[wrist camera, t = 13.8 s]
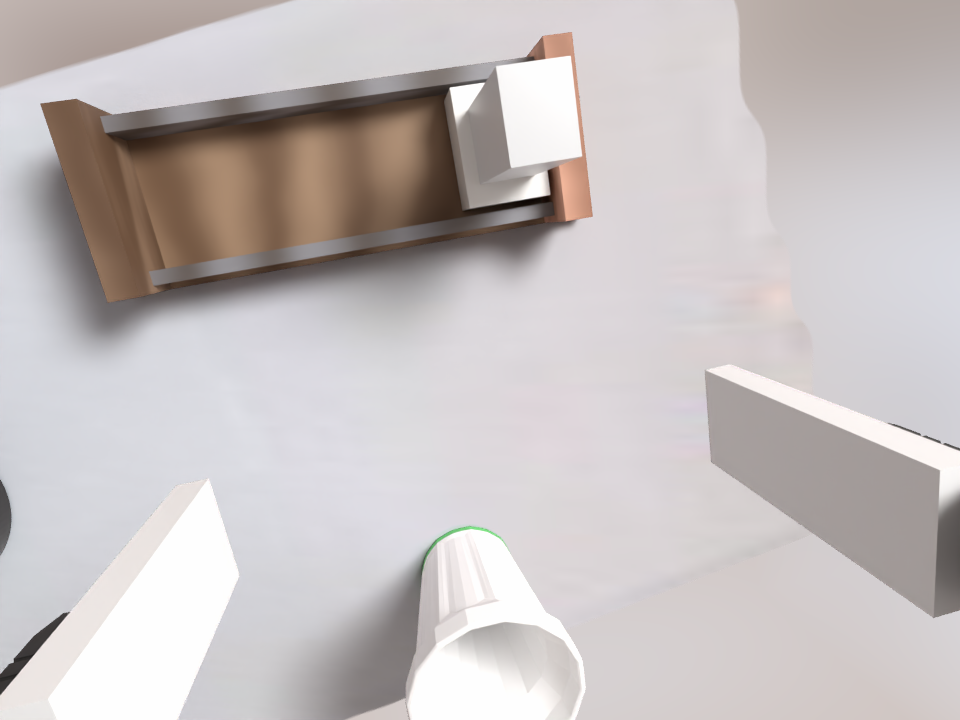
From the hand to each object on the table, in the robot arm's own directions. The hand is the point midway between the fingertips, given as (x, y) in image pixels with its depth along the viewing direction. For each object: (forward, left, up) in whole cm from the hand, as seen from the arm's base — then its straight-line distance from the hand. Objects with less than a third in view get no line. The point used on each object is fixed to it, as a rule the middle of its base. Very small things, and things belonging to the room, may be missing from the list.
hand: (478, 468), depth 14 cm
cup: (0, -25, -33) cm, 41 cm away
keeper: (+8, +11, -31) cm, 34 cm away
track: (-3, +11, -33) cm, 35 cm away
